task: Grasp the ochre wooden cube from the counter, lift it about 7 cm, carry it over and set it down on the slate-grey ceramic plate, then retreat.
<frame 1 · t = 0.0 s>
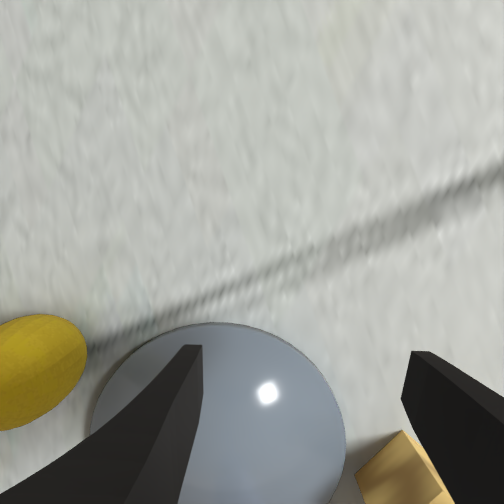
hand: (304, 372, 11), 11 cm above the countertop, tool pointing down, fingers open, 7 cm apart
cube: (401, 471, 23), on the countertop
plate: (219, 439, 23), on the countertop
lemon: (70, 335, 22), on the countertop
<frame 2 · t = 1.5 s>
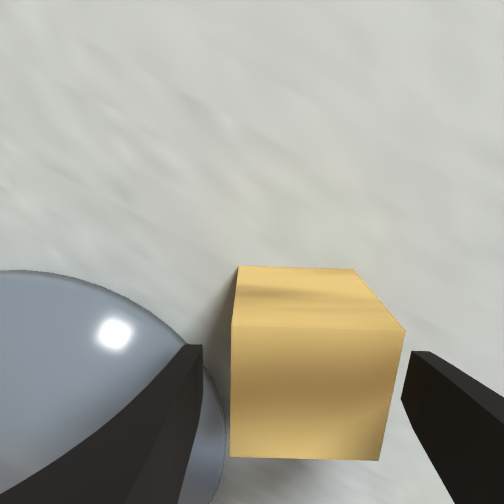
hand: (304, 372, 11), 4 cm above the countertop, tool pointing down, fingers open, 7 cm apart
cube: (291, 317, 14), on the countertop
plate: (55, 429, 16), on the countertop
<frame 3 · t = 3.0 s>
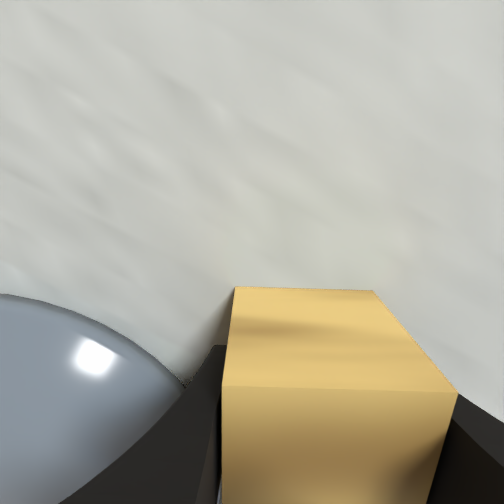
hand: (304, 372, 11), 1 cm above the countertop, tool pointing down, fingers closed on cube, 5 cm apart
cube: (298, 347, 12), on the countertop, touching gripper
plate: (24, 470, 14), on the countertop
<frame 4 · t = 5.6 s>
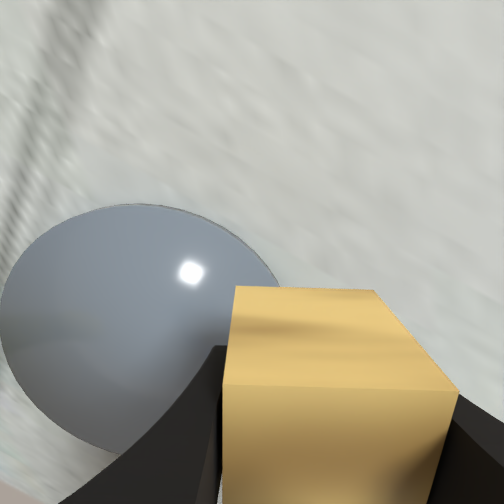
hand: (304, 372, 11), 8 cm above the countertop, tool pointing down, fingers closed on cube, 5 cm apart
cube: (299, 346, 12), point 7 cm above the countertop, touching gripper
plate: (153, 342, 20), on the countertop
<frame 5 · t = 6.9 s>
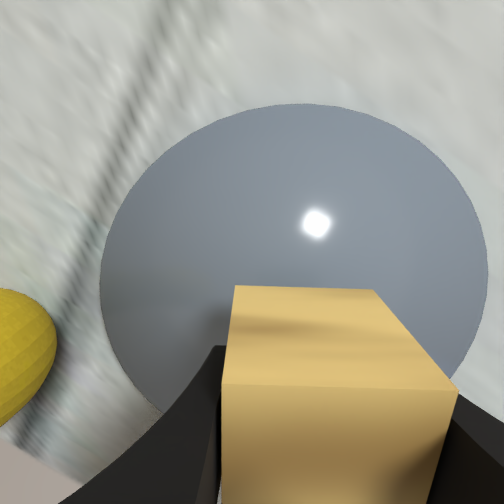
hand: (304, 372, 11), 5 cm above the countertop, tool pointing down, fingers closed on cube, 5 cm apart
cube: (298, 346, 12), point 4 cm above the countertop, touching gripper
plate: (289, 302, 16), on the countertop
lemon: (37, 310, 16), on the countertop
when the fingers open (4 cm above the countertop, at t = 8.0 s): cube drops 1 cm, resting on plate.
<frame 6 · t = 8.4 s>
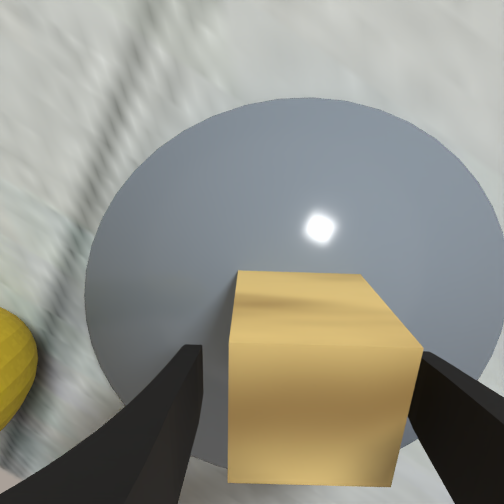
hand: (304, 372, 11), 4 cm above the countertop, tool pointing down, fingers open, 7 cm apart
cube: (294, 325, 14), point 1 cm above the countertop, touching plate
plate: (291, 315, 14), on the countertop
lemon: (18, 323, 15), on the countertop
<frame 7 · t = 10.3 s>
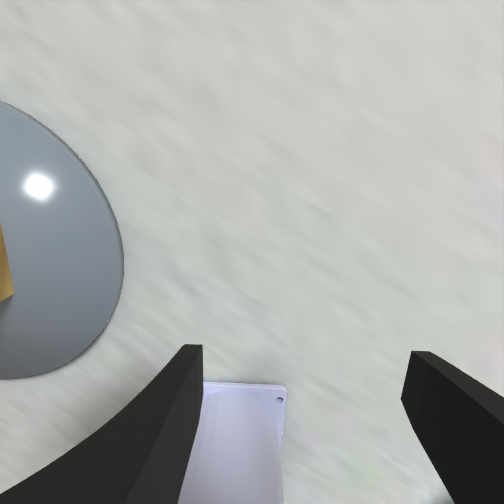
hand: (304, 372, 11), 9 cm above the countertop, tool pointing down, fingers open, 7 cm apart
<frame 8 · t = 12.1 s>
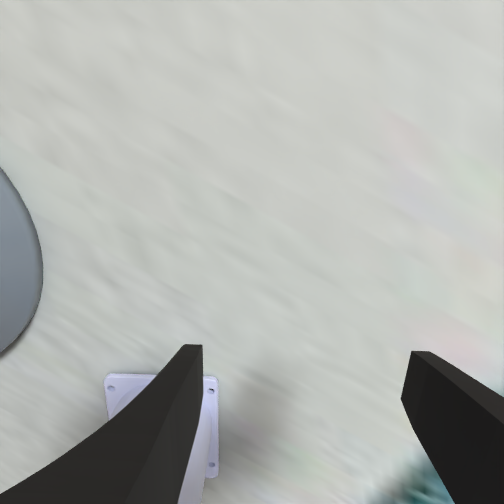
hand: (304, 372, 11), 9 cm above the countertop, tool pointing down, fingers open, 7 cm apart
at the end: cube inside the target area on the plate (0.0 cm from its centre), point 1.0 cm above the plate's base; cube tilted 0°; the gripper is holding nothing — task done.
